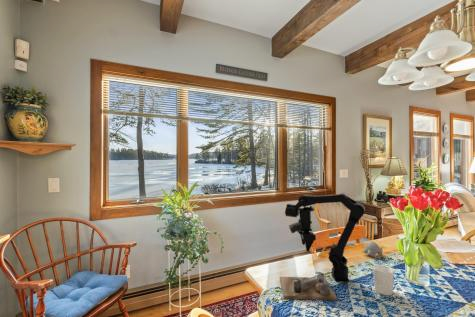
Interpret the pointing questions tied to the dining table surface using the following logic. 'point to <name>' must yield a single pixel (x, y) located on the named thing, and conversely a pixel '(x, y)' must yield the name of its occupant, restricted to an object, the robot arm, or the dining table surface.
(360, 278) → the dining table surface
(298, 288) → the lever
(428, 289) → the dining table surface
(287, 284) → the base
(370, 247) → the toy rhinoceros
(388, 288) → the white cup
